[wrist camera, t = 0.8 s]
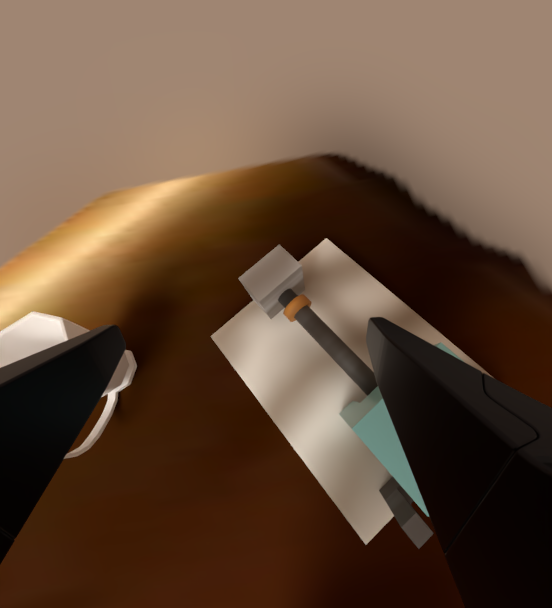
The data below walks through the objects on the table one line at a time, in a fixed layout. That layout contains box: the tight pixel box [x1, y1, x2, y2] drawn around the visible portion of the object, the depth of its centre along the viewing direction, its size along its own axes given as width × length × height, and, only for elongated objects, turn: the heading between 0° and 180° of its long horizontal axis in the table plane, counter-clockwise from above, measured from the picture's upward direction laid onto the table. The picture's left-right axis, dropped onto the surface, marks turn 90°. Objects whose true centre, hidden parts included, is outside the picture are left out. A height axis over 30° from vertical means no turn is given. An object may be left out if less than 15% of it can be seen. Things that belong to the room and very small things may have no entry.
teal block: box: [339, 342, 464, 517], centre depth 14 cm, size 4×6×7 cm
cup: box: [0, 311, 137, 459], centre depth 19 cm, size 7×10×8 cm
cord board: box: [211, 238, 492, 549], centre depth 18 cm, size 18×14×6 cm
